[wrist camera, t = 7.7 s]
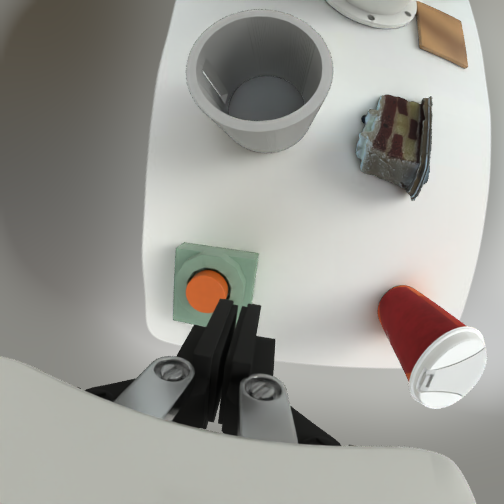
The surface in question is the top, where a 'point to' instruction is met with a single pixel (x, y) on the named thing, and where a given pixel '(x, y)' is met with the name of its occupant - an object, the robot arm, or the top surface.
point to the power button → (206, 291)
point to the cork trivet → (441, 34)
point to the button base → (221, 261)
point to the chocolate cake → (397, 142)
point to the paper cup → (431, 347)
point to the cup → (260, 73)
